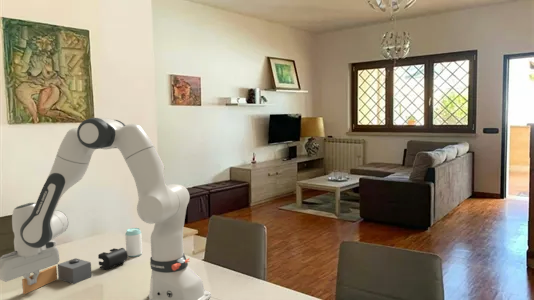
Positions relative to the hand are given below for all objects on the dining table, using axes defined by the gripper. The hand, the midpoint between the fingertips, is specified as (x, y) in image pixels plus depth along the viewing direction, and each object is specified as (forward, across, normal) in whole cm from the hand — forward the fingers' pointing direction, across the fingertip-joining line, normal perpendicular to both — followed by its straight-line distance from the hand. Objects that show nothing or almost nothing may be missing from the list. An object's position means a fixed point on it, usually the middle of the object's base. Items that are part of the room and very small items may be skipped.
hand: (32, 283), depth 145 cm
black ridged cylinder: (+4, +32, -4) cm, 32 cm away
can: (+4, +46, -1) cm, 46 cm away
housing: (+4, +16, -1) cm, 16 cm away
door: (+3, +4, +3) cm, 6 cm away
